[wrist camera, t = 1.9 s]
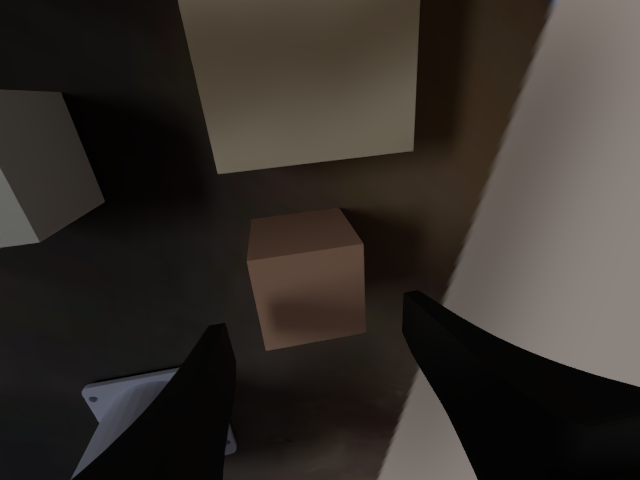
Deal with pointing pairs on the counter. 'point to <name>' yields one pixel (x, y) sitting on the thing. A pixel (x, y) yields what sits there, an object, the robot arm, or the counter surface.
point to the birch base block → (304, 78)
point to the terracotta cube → (307, 277)
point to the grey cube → (41, 168)
